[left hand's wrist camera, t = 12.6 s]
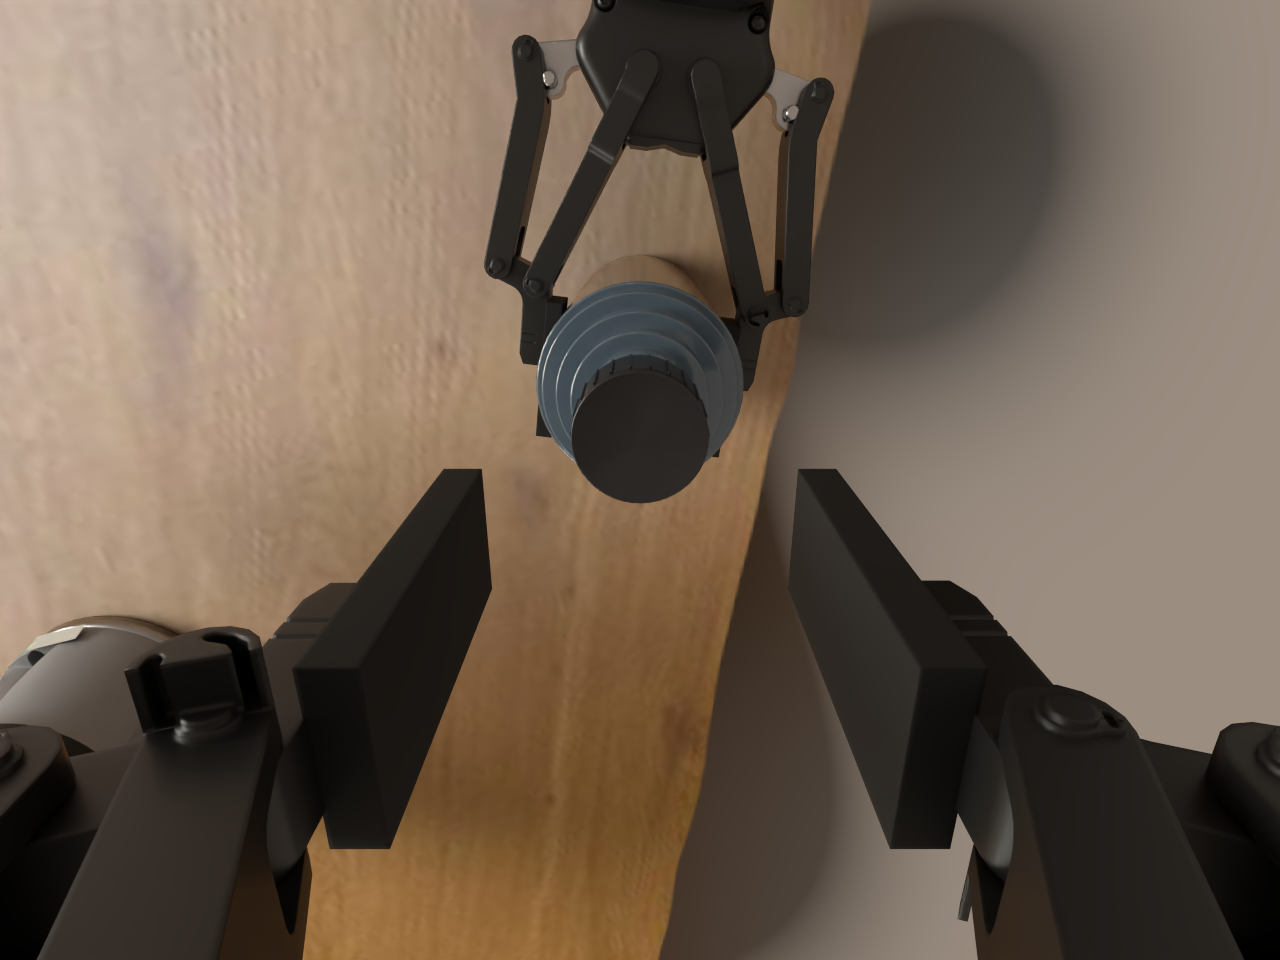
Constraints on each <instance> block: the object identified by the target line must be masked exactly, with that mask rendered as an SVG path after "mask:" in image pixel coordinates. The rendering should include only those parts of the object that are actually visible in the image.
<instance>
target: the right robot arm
mask: <svg viewBox="0 0 1280 960" xmlns="http://www.w3.org/2000/svg"><path fill="white" fill-rule="evenodd" d="M773 4H774V0H592V5H591V9H590V13H589V16H588V18H587V20H586V22H585V24H584V26H583V27H582V29H581V30H580V32H579V34H578V37H577V39H573V40H561V41H548V42H537V41H536V39H534V38H533V37H531V36H529V35H522V36H519V37H518V38H517V39H516V40H515V41H514V43H513V45H512V59H513V68H514V77H515V85H516V94H517V101H516V106H515V111H514V116H513V121H512V126H511V131H510V136H509V141H508V146H507V151H506V156H505V161H504V166H503V171H502V176H501V181H500V186H499V191H498V196H497V201H496V206H495V211H494V216H493V221H492V226H491V231H490V236H489V241H488V246H487V251H486V256H485V261H484V268H485V270H486V272H487V274H488V275H489V276H490V277H492V278H494V279H500V280H501V281H503V282H505V283H507V284H509V285H511V286H513V287H515V288H516V289H517V290H518V291H519V292H520V294H521V296H522V300H523V309H522V324H521V341H520V355H521V358H522V362H523V364H531V365H538V362H539V359H540V355H541V351H542V348H543V346H544V344H545V341H546V339H547V337H548V335H549V334H550V332H551V330H552V329H553V327H554V325H555V324H556V323H557V321H558V320H559V319H560V317H561V316H562V315H563V313H564V312H565V311H566V309H567V303H568V297H560V296H552V294H553V287H554V286H555V283H556V281H557V279H558V277H559V275H560V273H561V271H562V269H563V267H564V265H565V263H566V261H567V259H568V257H569V255H570V253H571V251H572V249H573V247H574V245H575V243H576V242H577V240H578V238H579V236H580V234H581V232H582V230H583V228H584V226H585V224H586V222H587V220H588V218H589V216H590V214H591V212H592V210H593V208H594V206H595V204H596V202H597V200H598V199H599V197H600V195H601V193H602V191H603V189H604V187H605V185H606V183H607V181H608V179H609V177H610V175H611V173H612V171H613V169H614V168H615V166H616V164H617V163H618V161H619V159H620V157H621V155H622V153H623V151H624V149H625V147H626V145H627V146H629V147H630V149H637V150H645V151H648V150H654V149H661V148H665V149H667V150H669V151H672V152H674V153H676V154H678V155H681V156H688V157H696V158H697V157H698V156H700V157H701V161H702V166H703V170H704V174H705V177H706V180H707V183H708V188H709V192H710V197H711V201H712V206H713V210H714V214H715V219H716V223H717V228H718V232H719V237H720V241H721V246H722V250H723V254H724V259H725V263H726V268H727V272H728V277H729V281H730V286H731V290H732V294H733V299H734V303H735V308H736V317H735V319H732V318H725V317H720V319H721V320H722V321H723V323H724V324H725V326H726V327H727V329H728V330H729V332H730V333H731V335H732V337H733V339H734V342H735V344H736V346H737V349H738V352H739V355H740V358H741V363H742V369H743V383H744V388H743V390H744V391H748V389H749V388H750V386H751V385H752V383H753V381H754V376H755V369H756V365H757V359H758V354H759V349H760V343H761V338H762V333H763V330H764V328H765V327H766V326H767V325H768V324H769V323H770V322H772V321H774V320H777V319H782V318H786V317H790V316H791V317H798V316H801V315H802V314H804V313H805V311H806V310H807V308H808V304H809V286H810V267H811V248H812V229H813V210H814V191H815V172H816V153H817V140H818V137H819V134H820V132H821V129H822V126H823V124H824V121H825V118H826V116H827V113H828V110H829V108H830V105H831V103H832V100H833V96H834V89H833V85H832V84H831V82H830V81H829V80H827V79H826V78H817V79H814V80H813V81H808V80H805V79H802V78H800V77H797V76H795V75H792V74H789V73H787V72H784V71H782V70H779V69H776V68H775V62H774V58H773V55H772V51H771V47H770V41H769V29H770V22H771V16H772V10H773ZM577 70H582V72H583V74H584V76H585V78H586V80H587V82H588V84H589V86H590V88H591V90H592V92H593V94H594V96H595V98H596V100H597V102H598V104H599V106H600V108H601V110H602V112H603V114H604V115H603V117H602V119H601V122H600V124H599V126H598V128H597V130H596V132H595V134H594V136H593V138H592V140H591V142H590V145H589V147H588V150H587V152H586V154H585V156H584V158H583V161H582V163H581V165H580V167H579V169H578V171H577V173H576V175H575V177H574V179H573V181H572V183H571V185H570V187H569V189H568V191H567V193H566V195H565V197H564V199H563V201H562V203H561V205H560V207H559V209H558V211H557V213H556V215H555V217H554V219H553V221H552V223H551V225H550V227H549V229H548V231H547V233H546V235H545V237H544V239H543V241H542V243H541V245H540V247H539V249H538V251H537V253H536V255H535V257H534V259H533V261H532V262H530V261H528V260H526V259H524V258H522V257H521V253H522V248H523V244H524V239H525V234H526V230H527V225H528V220H529V216H530V211H531V207H532V202H533V197H534V193H535V188H536V184H537V179H538V174H539V170H540V165H541V161H542V156H543V151H544V147H545V142H546V138H547V133H548V128H549V123H550V117H551V100H555V99H559V98H560V97H562V96H563V94H564V93H565V91H566V85H567V80H568V78H569V76H570V75H571V74H572V73H573V72H574V71H577ZM762 96H764V97H766V98H768V99H769V101H770V102H771V104H772V107H773V114H772V122H773V125H774V127H775V128H776V129H777V130H779V131H780V132H783V133H782V136H781V142H780V147H779V158H778V186H777V214H776V242H775V271H774V290H770V291H766V292H764V289H763V285H762V280H761V275H760V270H759V265H758V261H757V256H756V251H755V246H754V242H753V237H752V232H751V227H750V222H749V218H748V213H747V208H746V203H745V199H744V194H743V189H742V184H741V179H740V175H739V164H738V157H737V152H736V148H735V143H734V138H733V133H732V130H733V129H734V128H735V127H736V126H737V125H738V123H739V122H740V121H741V120H742V119H743V118H744V117H745V115H746V114H747V113H748V112H749V111H750V110H751V109H752V108H753V106H754V105H755V104H756V103H757V102H758V101H759V100H760V98H761V97H762ZM536 436H543V437H552V436H551V434H550V432H549V431H548V429H547V427H546V425H545V422H544V420H543V418H542V415H541V411H540V408H539V404H538V416H537V429H536ZM719 452H720V448H719V449H718V450H717V451H716V452H715V454H714V455H713V456H712V457H719Z"/></svg>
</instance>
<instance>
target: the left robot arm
mask: <svg viewBox="0 0 1280 960" xmlns="http://www.w3.org/2000/svg"><path fill="white" fill-rule="evenodd" d="M491 590H492V583H491V572H490V560H489V548H488V537H487V525H486V513H485V502H484V490H483V478H482V469H443V471H442V472H441V473H440V475H439V476H438V477H437V479H436V480H435V481H434V483H433V484H432V485H431V486H430V488H429V489H428V490H427V492H426V493H425V494H424V496H423V497H422V498H421V500H420V501H419V502H418V504H417V505H416V506H415V507H414V509H413V510H412V511H411V513H410V514H409V515H408V517H407V518H406V519H405V521H404V522H403V523H402V524H401V526H400V527H399V528H398V530H397V531H396V532H395V534H394V535H393V536H392V538H391V539H390V540H389V542H388V543H387V544H386V545H385V547H384V548H383V549H382V551H381V552H380V553H379V555H378V556H377V557H376V559H375V560H374V561H373V563H372V564H371V565H370V566H369V568H368V569H367V570H366V572H365V573H364V574H363V576H362V577H361V578H360V580H359V581H358V582H357V583H330V584H328V585H327V586H325V587H323V588H322V589H320V590H318V591H317V592H315V593H313V594H312V595H310V596H308V597H307V598H305V599H304V600H303V601H302V602H301V603H300V604H299V605H298V607H297V608H296V609H295V610H294V611H293V612H292V613H291V615H290V616H289V617H288V618H287V622H284V623H283V624H282V625H281V626H280V627H279V628H278V630H277V631H276V632H275V633H274V634H273V639H269V640H268V641H267V642H266V643H265V645H264V646H263V647H262V646H261V641H260V637H259V636H257V635H256V634H255V633H253V632H252V631H251V630H249V629H244V628H238V627H233V626H226V627H211V628H204V629H200V630H196V631H192V632H188V633H183V634H180V635H176V634H174V633H172V632H170V631H168V630H166V629H163V628H161V627H158V626H156V625H153V624H150V623H146V622H143V621H139V620H135V619H130V618H123V617H113V616H95V617H87V618H81V619H77V620H73V621H70V622H67V623H64V624H62V625H60V626H57V627H56V628H54V629H52V630H51V631H49V632H48V633H46V634H44V635H40V636H37V638H36V639H35V640H34V642H33V643H32V644H31V645H30V646H28V647H27V648H26V649H25V650H24V651H23V652H22V653H21V654H20V655H19V656H18V657H17V658H16V659H15V660H14V661H13V662H12V663H11V665H10V666H9V667H8V669H7V670H6V671H5V673H4V674H3V676H2V677H1V679H0V960H302V958H303V950H304V941H305V932H306V924H307V915H308V906H309V898H310V889H311V880H312V870H311V863H310V858H309V853H308V849H307V844H308V843H309V841H310V839H311V837H312V835H313V833H314V831H315V829H316V827H317V825H318V823H319V822H320V820H321V818H322V816H323V818H324V823H325V828H326V832H327V837H328V842H329V847H330V849H390V847H391V845H392V842H393V840H394V837H395V834H396V832H397V829H398V827H399V824H400V822H401V819H402V817H403V814H404V812H405V809H406V806H407V804H408V801H409V799H410V796H411V794H412V791H413V789H414V786H415V784H416V781H417V778H418V776H419V773H420V771H421V768H422V766H423V763H424V761H425V758H426V756H427V753H428V750H429V748H430V745H431V743H432V740H433V738H434V735H435V733H436V730H437V727H438V725H439V722H440V720H441V717H442V715H443V712H444V710H445V707H446V705H447V702H448V699H449V697H450V694H451V692H452V689H453V687H454V684H455V682H456V679H457V677H458V674H459V671H460V669H461V666H462V664H463V661H464V659H465V656H466V654H467V651H468V649H469V646H470V643H471V641H472V638H473V636H474V633H475V631H476V628H477V626H478V623H479V621H480V618H481V615H482V613H483V610H484V608H485V605H486V603H487V600H488V598H489V595H490V592H491ZM788 590H789V592H790V595H791V598H792V600H793V603H794V605H795V608H796V610H797V613H798V615H799V618H800V621H801V623H802V626H803V628H804V631H805V633H806V636H807V638H808V641H809V643H810V646H811V649H812V651H813V653H814V656H815V659H816V661H817V664H818V666H819V669H820V671H821V674H822V677H823V679H824V682H825V684H826V687H827V689H828V692H829V694H830V697H831V699H832V702H833V704H834V707H835V710H836V712H837V715H838V717H839V720H840V722H841V725H842V727H843V730H844V733H845V735H846V738H847V740H848V743H849V745H850V748H851V750H852V753H853V755H854V758H855V760H856V763H857V766H858V768H859V771H860V773H861V776H862V778H863V781H864V783H865V786H866V788H867V791H868V794H869V796H870V799H871V801H872V804H873V806H874V809H875V812H876V814H877V817H878V819H879V822H880V824H881V827H882V829H883V832H884V834H885V837H886V840H887V842H888V845H889V847H890V849H950V847H951V842H952V837H953V832H954V828H955V823H956V818H957V813H958V814H959V816H960V818H961V820H962V822H963V824H964V826H965V827H966V829H967V831H968V833H969V835H970V837H971V839H972V841H973V843H974V845H973V849H972V853H971V858H970V862H969V867H968V871H967V875H966V880H965V884H964V889H963V893H962V898H961V902H960V908H959V914H958V919H960V920H963V921H968V917H969V913H970V909H971V906H972V913H973V922H974V930H975V939H976V948H977V956H978V960H1280V726H1274V725H1268V724H1262V723H1255V722H1247V723H1236V724H1231V725H1229V726H1228V727H1226V728H1225V729H1223V730H1222V731H1220V734H1219V736H1218V739H1217V742H1216V745H1215V747H1214V750H1213V753H1212V754H1209V753H1204V752H1199V751H1194V750H1189V749H1185V748H1180V747H1175V746H1170V745H1165V744H1160V743H1156V742H1151V741H1147V740H1143V739H1140V738H1139V736H1138V734H1137V732H1136V731H1135V729H1134V728H1133V727H1132V725H1131V724H1130V723H1129V721H1128V720H1127V719H1126V718H1125V717H1124V716H1123V715H1122V714H1120V713H1119V712H1118V711H1116V710H1115V709H1113V708H1112V707H1111V706H1109V705H1108V704H1107V703H1105V702H1103V701H1101V700H1099V699H1097V698H1094V697H1092V696H1090V695H1088V694H1086V693H1084V692H1081V691H1078V690H1074V689H1070V688H1067V687H1063V686H1059V685H1053V684H1052V683H1051V681H1050V680H1049V679H1048V678H1047V677H1046V676H1045V675H1044V673H1043V672H1042V671H1041V670H1040V669H1039V668H1038V667H1037V665H1036V664H1035V663H1034V662H1033V661H1032V660H1031V659H1030V657H1029V656H1028V655H1027V654H1026V653H1025V652H1024V651H1023V649H1022V648H1021V647H1020V646H1019V645H1018V644H1017V643H1016V641H1015V640H1014V639H1013V638H1012V637H1011V636H1008V635H1007V631H1006V630H1005V629H1004V628H1003V627H1002V625H1001V624H1000V623H999V622H998V621H997V620H994V619H993V615H992V614H991V613H990V612H989V611H988V609H987V608H986V607H985V606H984V605H983V604H982V603H981V601H980V600H979V599H978V598H977V597H976V596H974V595H973V594H971V593H969V592H968V591H966V590H964V589H963V588H961V587H959V586H958V585H956V584H954V583H953V582H951V581H921V580H920V578H919V577H918V576H917V574H916V573H915V572H914V570H913V569H912V568H911V566H910V565H909V564H908V563H907V561H906V560H905V559H904V557H903V556H902V555H901V553H900V552H899V551H898V549H897V548H896V547H895V546H894V544H893V543H892V542H891V540H890V539H889V538H888V536H887V535H886V534H885V532H884V531H883V530H882V528H881V527H880V526H879V525H878V523H877V522H876V521H875V519H874V518H873V517H872V515H871V514H870V513H869V511H868V510H867V509H866V508H865V506H864V505H863V504H862V502H861V501H860V500H859V498H858V497H857V496H856V494H855V493H854V492H853V490H852V489H851V488H850V486H849V485H848V484H847V483H846V481H845V480H844V479H843V477H842V476H841V475H840V473H839V472H838V471H837V470H836V469H798V478H797V490H796V502H795V513H794V525H793V537H792V548H791V560H790V572H789V583H788Z"/></svg>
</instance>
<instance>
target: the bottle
mask: <svg viewBox="0 0 1280 960" xmlns="http://www.w3.org/2000/svg"><path fill="white" fill-rule="evenodd" d="M630 354H632V355H648V354H651V356H654V357H658V358H661V359H664V360H666V359H668V360H669V362H670V363H672V364H673V365H675V366H677V367H678V368H679V369H680V370H682V369H683V370H684V371H685V374H686V375H687V376H688V377H689V379H690V380H691V381H692V383H693V384H694V383H695V384H696V386H697V390H698V393H699V396H700V399H702V400H703V403H704V406H705V409H706V412H707V415H708V418H706V419H707V423H708V428H709V433H710V437H709V446H708V451H707V455H706V458H705V461H704V463H705V462H706V461H707V460H708V459H709V458H711V457H712V456H713V455H714V454H715V452H716V451H717V450H718V449H719V448H720V447H721V446H722V444H723V443H724V442H725V440H726V439H727V437H728V436H729V434H730V432H731V430H732V429H733V427H734V425H735V422H736V420H737V417H738V414H739V411H740V407H741V403H742V397H743V388H744V383H743V369H742V363H741V358H740V355H739V352H738V349H737V346H736V344H735V342H734V339H733V337H732V335H731V333H730V332H729V330H728V329H727V327H726V326H725V324H724V323H723V321H722V320H721V319H720V317H719V316H718V315H717V313H716V312H715V311H714V309H713V308H712V307H711V305H710V304H709V303H708V301H707V300H706V299H705V297H704V296H703V295H702V293H701V292H700V291H699V289H698V288H697V287H696V285H695V284H694V283H693V282H692V280H691V279H690V278H689V277H688V276H687V275H686V274H685V273H684V272H683V271H682V270H681V269H679V268H678V267H676V266H675V265H673V264H672V263H670V262H668V261H666V260H663V259H660V258H657V257H652V256H644V255H636V256H628V257H623V258H620V259H617V260H615V261H612V262H610V263H608V264H607V265H605V266H603V267H602V268H601V269H599V270H598V271H597V272H596V273H595V274H594V275H593V276H592V277H591V278H590V279H589V280H588V282H587V283H586V284H585V285H584V287H583V288H582V289H581V291H580V292H579V293H578V295H577V296H576V297H575V299H574V300H573V301H572V303H571V304H570V305H569V307H568V308H567V309H566V311H565V312H564V313H563V315H562V316H561V317H560V319H559V320H558V321H557V323H556V324H555V325H554V327H553V329H552V330H551V332H550V334H549V335H548V337H547V339H546V341H545V344H544V346H543V348H542V351H541V355H540V359H539V362H538V369H537V376H536V390H537V397H538V404H539V408H540V411H541V415H542V418H543V420H544V422H545V425H546V427H547V429H548V431H549V432H550V434H551V436H552V438H553V439H554V441H555V442H556V443H557V444H558V446H559V447H560V448H561V450H562V451H563V452H564V453H565V454H566V455H567V456H568V457H569V458H570V459H572V460H573V461H574V462H575V463H576V461H575V459H574V455H573V452H572V446H571V436H570V432H571V428H572V423H573V419H574V417H572V415H573V412H574V409H575V406H576V403H577V400H578V399H580V396H581V393H582V390H583V387H584V384H585V382H586V383H588V381H589V380H590V379H591V377H592V376H593V375H594V374H595V372H596V370H597V369H601V368H602V367H603V366H605V365H606V364H608V363H610V362H611V360H612V359H614V360H616V359H619V358H622V357H626V356H629V355H630Z"/></svg>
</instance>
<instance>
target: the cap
mask: <svg viewBox="0 0 1280 960" xmlns="http://www.w3.org/2000/svg"><path fill="white" fill-rule="evenodd" d="M572 417H574V419H573V423H572V428H571V432H570V436H571V446H572V452H573V455H574V459H575V461H576V463H577V466H578V467H579V469H580V471H581V473H582V474H583V475H584V477H585V478H586V479H587V480H588V481H589V482H590V483H591V484H592V485H593V486H594V487H595V488H597V489H598V490H599V491H601V492H602V493H604V494H606V495H607V496H610V497H612V498H614V499H617V500H621V501H624V502H630V503H650V502H655V501H660V500H663V499H666V498H668V497H670V496H672V495H674V494H676V493H678V492H679V491H681V490H682V489H683V488H685V487H686V486H687V485H688V484H689V483H690V482H691V481H692V480H693V479H694V478H695V476H696V475H697V474H698V472H699V471H700V469H701V467H702V465H703V463H704V461H705V458H706V455H707V451H708V446H709V437H710V433H709V428H708V423H707V419H706V418H708V415H707V412H706V409H705V406H704V403H703V400H702V399H700V396H699V393H698V390H697V386H696V384H695V383H694V384H693V383H692V381H691V380H690V379H689V377H688V376H687V375H686V374H685V371H684V370H683V369H682V370H680V369H679V368H678V367H677V366H675V365H673V364H672V363H670V362H669V360H668V359H666V360H664V359H661V358H658V357H654V356H651V354H648V355H632V354H630V355H629V356H626V357H622V358H619V359H616V360H614V359H612V360H611V362H610V363H608V364H606V365H605V366H603V367H602V368H601V369H597V370H596V372H595V374H594V375H593V376H592V377H591V379H590V380H589V381H588V383H586V382H585V384H584V387H583V390H582V393H581V396H580V399H578V400H577V403H576V406H575V409H574V412H573V415H572Z"/></svg>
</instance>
